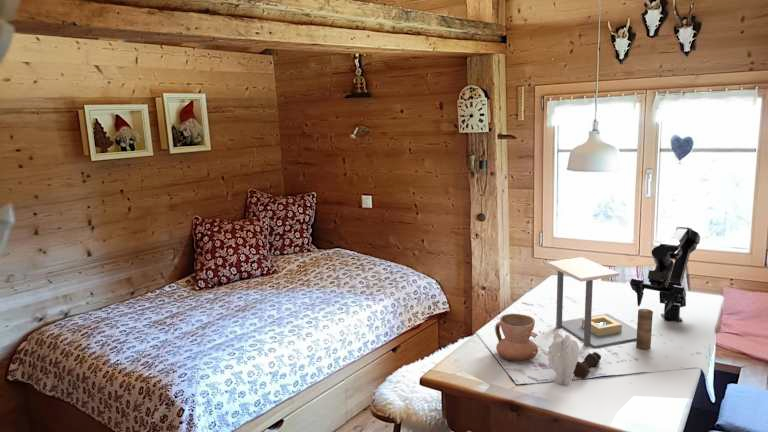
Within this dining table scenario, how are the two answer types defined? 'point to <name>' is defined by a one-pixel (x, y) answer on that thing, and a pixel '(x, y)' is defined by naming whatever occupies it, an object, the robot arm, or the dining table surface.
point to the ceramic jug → (516, 337)
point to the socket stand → (590, 306)
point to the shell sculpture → (563, 357)
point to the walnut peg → (644, 329)
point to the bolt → (586, 365)
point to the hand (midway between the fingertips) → (651, 308)
